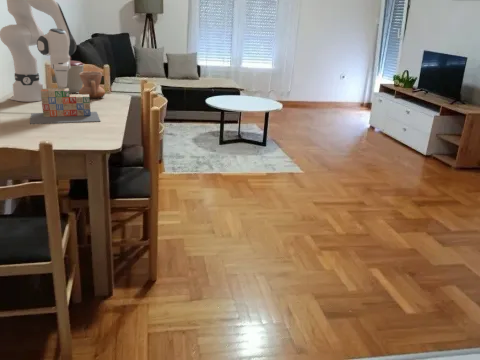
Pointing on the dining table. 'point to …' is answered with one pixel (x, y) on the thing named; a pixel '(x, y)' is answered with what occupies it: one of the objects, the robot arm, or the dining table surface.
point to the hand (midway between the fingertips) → (63, 93)
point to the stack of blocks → (64, 103)
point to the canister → (74, 77)
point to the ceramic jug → (91, 84)
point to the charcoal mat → (63, 119)
